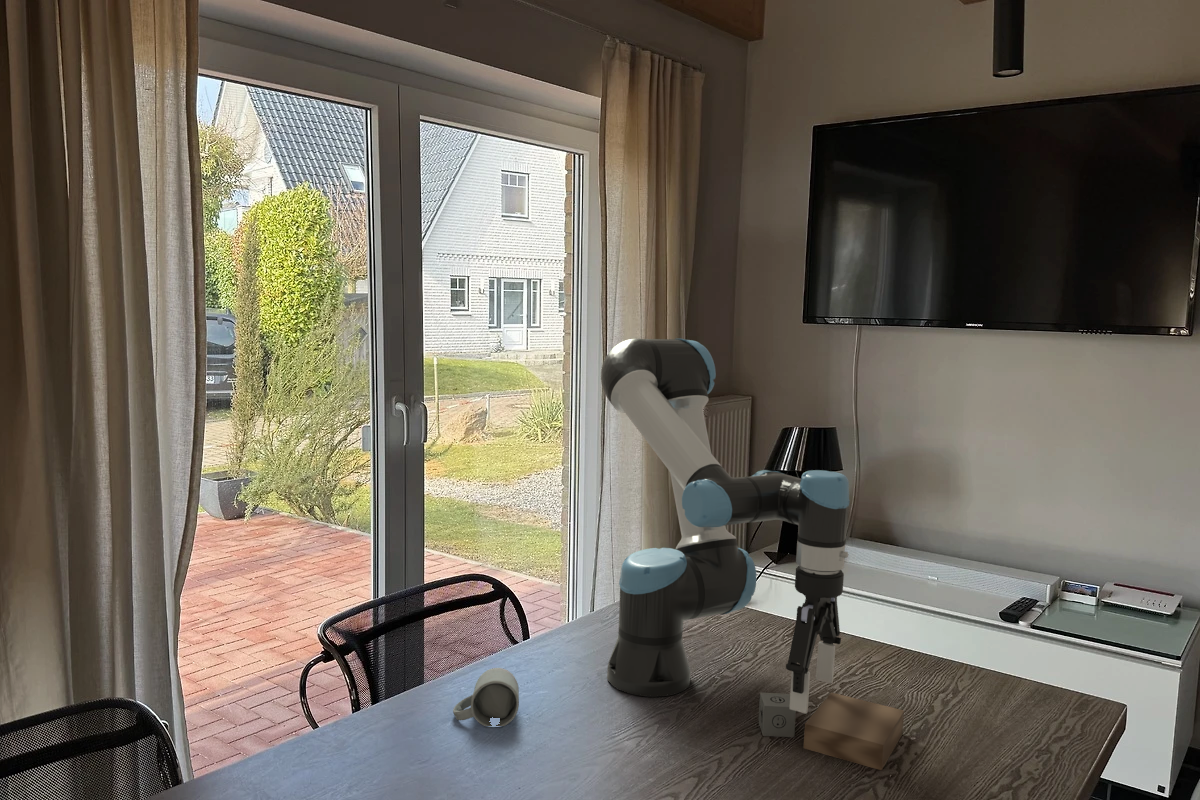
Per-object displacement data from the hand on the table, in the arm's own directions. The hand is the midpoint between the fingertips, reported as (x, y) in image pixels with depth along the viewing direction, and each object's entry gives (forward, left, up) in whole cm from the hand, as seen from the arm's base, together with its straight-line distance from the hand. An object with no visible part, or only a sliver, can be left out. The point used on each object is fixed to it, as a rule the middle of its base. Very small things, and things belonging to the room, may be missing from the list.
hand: (811, 695), depth 147 cm
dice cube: (-2, -2, -3) cm, 4 cm away
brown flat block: (+7, 0, -6) cm, 9 cm away
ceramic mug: (-46, -27, -6) cm, 53 cm away
